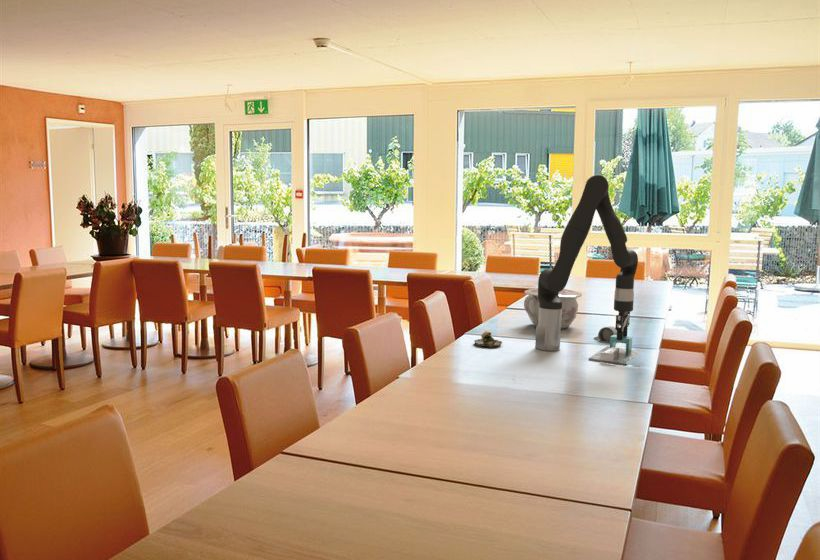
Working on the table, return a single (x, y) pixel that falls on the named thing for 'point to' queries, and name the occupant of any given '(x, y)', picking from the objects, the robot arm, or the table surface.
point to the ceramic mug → (606, 333)
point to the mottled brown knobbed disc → (487, 340)
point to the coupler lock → (625, 340)
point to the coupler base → (613, 356)
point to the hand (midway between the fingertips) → (621, 338)
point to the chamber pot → (567, 306)
